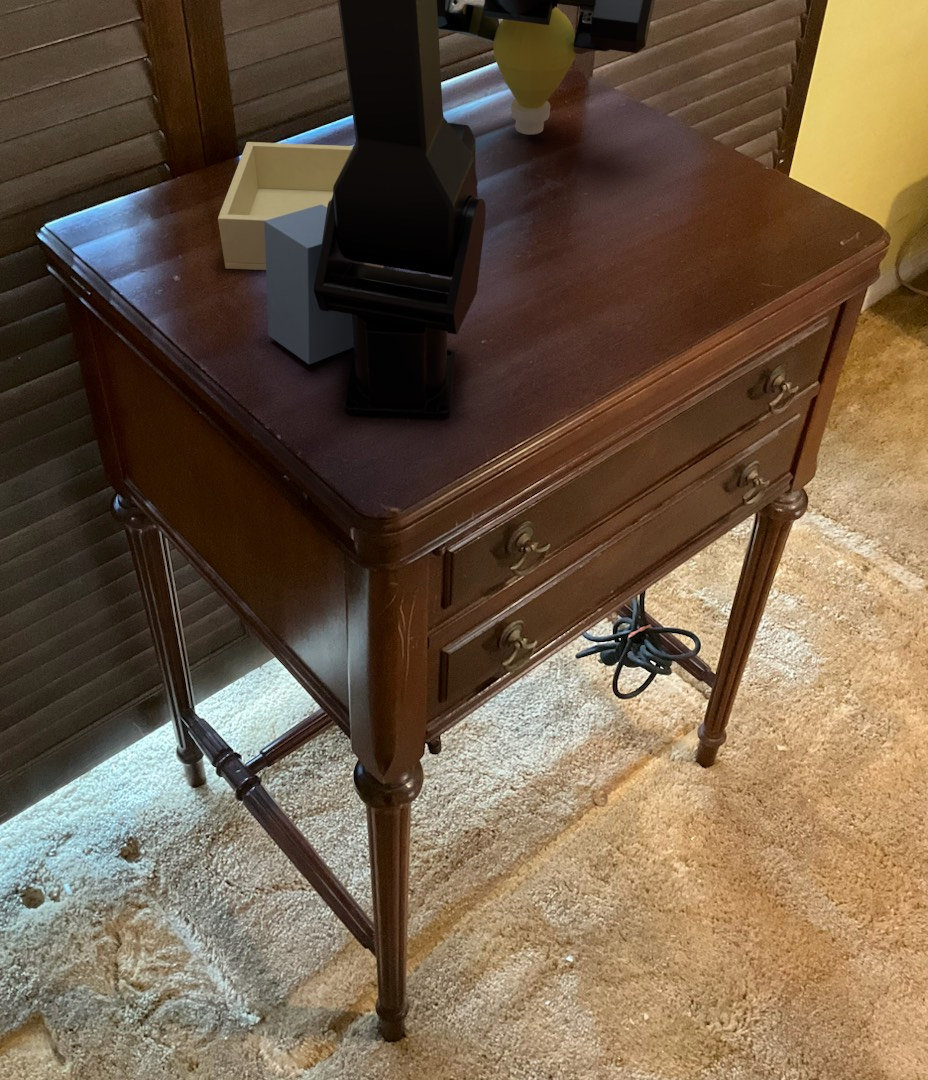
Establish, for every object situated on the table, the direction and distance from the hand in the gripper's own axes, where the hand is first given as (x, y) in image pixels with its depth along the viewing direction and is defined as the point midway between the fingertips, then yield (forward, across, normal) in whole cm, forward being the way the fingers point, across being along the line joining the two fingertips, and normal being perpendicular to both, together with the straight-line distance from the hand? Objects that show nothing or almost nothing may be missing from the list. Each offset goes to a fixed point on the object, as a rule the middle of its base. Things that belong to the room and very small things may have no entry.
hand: (538, 42), depth 90 cm
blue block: (-19, +7, +30) cm, 36 cm away
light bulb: (+4, 0, +6) cm, 7 cm away
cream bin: (-10, +12, +20) cm, 25 cm away
